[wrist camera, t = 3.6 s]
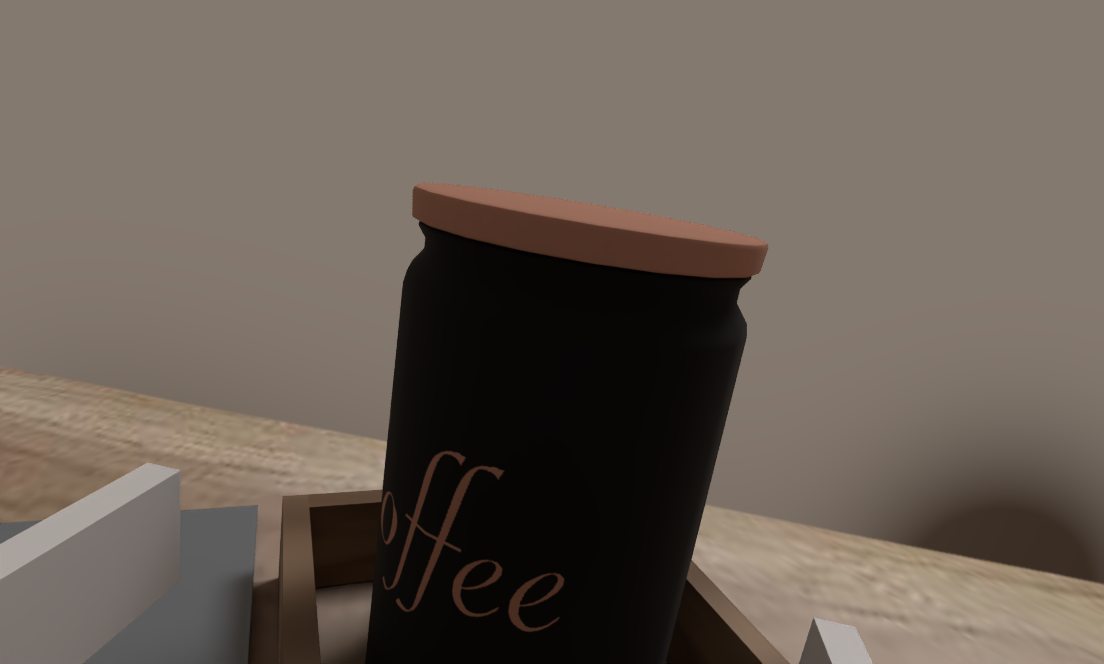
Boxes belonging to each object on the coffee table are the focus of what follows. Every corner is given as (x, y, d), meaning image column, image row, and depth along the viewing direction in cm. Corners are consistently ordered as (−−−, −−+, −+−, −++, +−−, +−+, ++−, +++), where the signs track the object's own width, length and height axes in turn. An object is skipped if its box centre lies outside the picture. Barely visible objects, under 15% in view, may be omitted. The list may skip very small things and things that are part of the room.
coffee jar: (325, 633, 24) (361, 170, 20) (545, 568, 30) (611, 205, 26) (436, 912, 16) (542, 222, 11) (708, 743, 22) (845, 254, 18)
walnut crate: (823, 835, 19) (859, 736, 18) (276, 1067, 13) (285, 932, 12) (597, 540, 33) (610, 474, 32) (278, 577, 27) (283, 496, 26)
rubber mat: (241, 772, 18) (242, 756, 18) (-515, 948, 13) (-524, 927, 12) (257, 515, 31) (257, 505, 31) (-124, 545, 25) (-125, 532, 25)
